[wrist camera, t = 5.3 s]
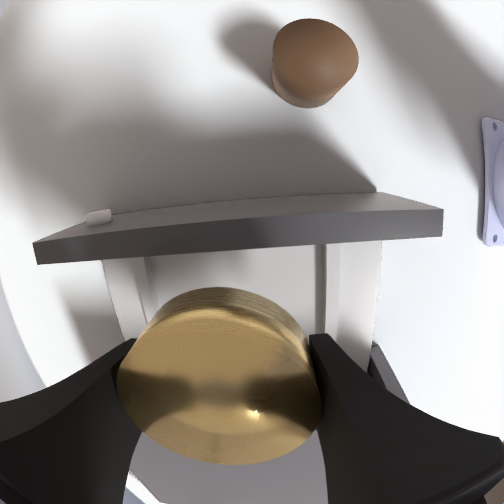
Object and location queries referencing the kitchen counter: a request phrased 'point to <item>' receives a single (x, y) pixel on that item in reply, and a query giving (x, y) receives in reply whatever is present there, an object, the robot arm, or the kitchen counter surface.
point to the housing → (246, 467)
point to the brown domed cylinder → (312, 62)
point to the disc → (222, 378)
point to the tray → (252, 256)
